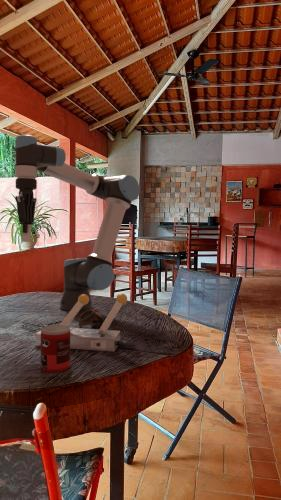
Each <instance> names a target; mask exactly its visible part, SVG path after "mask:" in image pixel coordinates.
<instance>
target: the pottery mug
mask: <svg viewBox="0 0 281 500" xmlns="http://www.w3.org/2000/svg"><path fill="white" fill-rule="evenodd" d="M77 321H78V327H79V328H83V327H85V326H88V325H89V326H91V325H92V323H93V324H98V323H99V326H100V327H101V326H102V324H103V323H104V321H105V319H104V318H103V315H102V314H101V313H100V312H99V310H98V309H93V308H91V309H88V310H84V312H82V313H81V314H80V315H79V317H78V318H77ZM91 321H92V323H91Z"/></svg>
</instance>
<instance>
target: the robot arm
mask: <svg viewBox="0 0 281 500" xmlns="http://www.w3.org/2000/svg"><path fill="white" fill-rule="evenodd" d="M14 149H15V155H14V156H15V169H14V172H15V177H16V179H15V188H16V189H17V190H18V195H16V196H15V197H14V199H15V202H16V208H17V209H16V210H17V217H18V223H19V225H21V230H22V231H21V233H22V234H21V237H22V240H21V242H22V243H31V242H32V239H31V238H32V228H31V227H32V225H34V222H35V211H36V204H37V200H38V199H37V197H35V196H34V195H35V194H34V190H37V188H38V187H37V186H38V185H37V184H38V183H37V177H38V174H37V173H38V172H40V173H42V174H45V175H48V176H51V177H52V178H55V179H57V180H60V181H62V182H65V183H67V184H70V185H72V186H74V187H77V188H80V189H82V190H84V191H85V192H86V194H89V195H91V196H93V197H96V198H98V199H101V200H103V201H106V204H107V206H106V208H105V211H104V215H103V218H102V220H101V221H102V222H101V224H100V227H99V230H98V232H97V233H98V234H97V236H96V239H95V243H94V246H93V249H92V252H91V253H90V254H88V255H87V256H86V257H82V258H81V257H80V258H70V259H69V258H68V259H66V260H64V262H63V293H62V296H61V299H60V301H59V302H60V303H59V308H60V310H64V311H68V312H70V311H71V309H72V308H73V307H74V305H75V304H76V303H77V302H78V297H79V296H80V295H82V294H86V295H87V296H88V297H89V302H88V304H86V305H84V306H83V307H82V308H81V309H80V311H79V312H81V311H87V310H90V309H93V308H94V307H93V306H94V305H93V304H94V302H93V299H92V296H91V294H90V293H91V292H90V290H93V291H103V290H106V289H108V288H109V287H110V286H111V285H112V283H113V282H114V279H115V273H114V272H115V271H114V269H113V263H114V262H112V259H111V258H112V255H113V251H114V249H115V245H116V242H117V240H118V239H117V238H118V236H119V232H120V230H121V226H122V224H123V223H122V222H123V219H124V216H125V213H126V211H127V210H128V209H129V208H131V205H132V202H133V201H135V200H137V199H138V198H139V196H140V192H141V189H140V188H141V187H140V184H139V182H138V180H137V179H136V177H134V176H133V175H131V174H121V175H112V176H100V175H98V174H95V173H93V174H90V173H88V172H86V171H83V170H81V169H79V168H77V167H74V166H72V165H70V164H67V163H65V162H66V159H67V158H66V157H67V156H66V155H67V154H66V151H65V150H64V148H62V147H59V146H56V145H55V146H54V145H48V144H42V143H38V141H37V138H36V137H35V136H33V135H30V134H19V135H17V136H15V143H14Z"/></svg>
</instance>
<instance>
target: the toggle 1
mask: <svg viewBox="0 0 281 500" xmlns="http://www.w3.org/2000/svg"><path fill="white" fill-rule="evenodd" d="M88 302H89V297H88V296H87V295H86V294H82V295H80V296H79V297H78V302H77V303H76V304H75V305H74V307H73V308H72V309H71V311H68V313H67V315H66V316H65V317H64V318H63V320H62V321H61V322H60V324H59V325H65V326H68V327H69V325H70V324H71V322H72V321H73V319H75V317H76V316H77V314H78V313H79V312H81V311H80V309H81V308H82V307H83V306H84V305H86V304H88Z"/></svg>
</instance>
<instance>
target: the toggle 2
mask: <svg viewBox="0 0 281 500" xmlns="http://www.w3.org/2000/svg"><path fill="white" fill-rule="evenodd" d="M115 300H116V301H115V303H114V304H113V306H112V307H111V309H110V311H109V313H108V314H107V317H106V318H105V319H104V323H103V324H102V326H100V328H99V329H98V330H99V335H102V334H104V333H105V332H106V331H107V330H109V328H110V326H111V324H112V322H113V320H114V319H115V317H116V316H117V314H118V312H119V311H120V309H121V308H122V306H123V305H125V304H126V303H127V302H128V297H127V295H126V294H125V293H119V294H117V295H116V297H115Z"/></svg>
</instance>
